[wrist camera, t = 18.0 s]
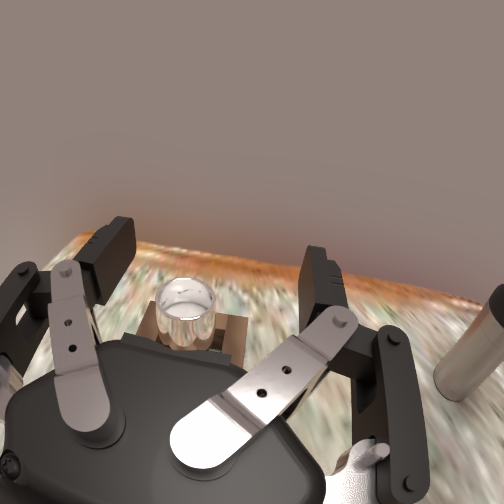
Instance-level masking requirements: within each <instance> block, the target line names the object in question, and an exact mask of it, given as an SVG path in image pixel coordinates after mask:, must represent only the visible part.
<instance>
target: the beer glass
mask: <svg viewBox="0 0 504 504" xmlns="http://www.w3.org/2000/svg"><path fill="white" fill-rule="evenodd" d="M215 300H216V297H215V293H214V291H213V289H212V288H211V287H210V286H209V285H208V284H207V283H205V282H203V281H201V280H199V279H195V278H190V277H181V278H175V279H172V280H169V281H167V282H166V283H164V284H163V285H162V286H161V287H160V288H159V289H158V291H157V293H156V296H155V301H156V321H157V328H158V333H159V337H160V339H161V342H162V344H163V346H165V347H167V348H170V349H172V350H206V351H210V348H211V345H212V342H213V339H214V335H215V328H216V306H215Z"/></svg>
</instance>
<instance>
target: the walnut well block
mask: <svg viewBox="0 0 504 504" xmlns="http://www.w3.org/2000/svg"><path fill="white" fill-rule="evenodd" d="M247 326H248V317H241V316H235V315H228V314H222V313H216V328H215V335H214V339H213V342H212V345H211V348H213V349H220V350H222V352H221V353H223V354H229V355H232V356H231V363H232V364H235V365H237V366H239V367H241V368H242V369H243V360H244V352H245V343H246V335H247ZM136 335H137V336H141V337H145V338H149V339H151V340H153V341H155V342H157V343H159V344H161V345H163V344H162V342H161V339H160V337H159V333H158V328H157V321H156V302H155V301H150V303H149V305H148V308H147V310H146V312H145V315H144V317H143V319H142V321H141V324H140V326H139V328H138V331H137V333H136Z"/></svg>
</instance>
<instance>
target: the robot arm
mask: <svg viewBox="0 0 504 504" xmlns="http://www.w3.org/2000/svg"><path fill="white" fill-rule="evenodd" d="M135 254H136V238H135V229H134V221H133V219H132V218H128V217H121V216H117V217H116V218H114V220H113V221H112V222H111V223H110V224H109V225H105V226H104V227H102V228H100V229H99V230H97V231H96V232H95V234H94V235H93V236H92V238H90V239H89V240H88V242H87V243H86V244H85V245H84V246H83V247H82V249H81V250H80V251H79V252H78V253H77V255H76V256H75V257H74V258H73V259H72V260H64V261H61V262H59V263H57V264H56V265H55V266H54V267H53V268H52V270H51V271H38V269H37V266H36V264H35V263H34V262H30V261H28V262H23V263H21V264H19V265H17V266H16V267H15V268H14V269H13V270H12V272H11V273H10V274H9V276H8V277H7V278H6V279H5V281H4V282H3V283H2V285H1V286H0V423H2V424H4V425H5V440H4V448H3V452H2V455H1V457H0V504H413V503H416V502H418V501H420V500H421V499H422V498H423V497H424V496H425V495H426V493H427V491H428V489H429V486H430V471H429V458H428V447H427V438H426V429H425V422H424V415H423V408H422V402H421V396H420V390H419V385H418V379H417V374H416V369H415V365H414V360H413V355H412V351H411V347H410V342H409V339H408V337H407V335H406V334H405V333H404V332H403V331H402V330H401V329H400V328H398V327H395V326H392V325H385V326H383V327H381V328H380V329H379V331H378V332H377V331H375V330H372V329H369V328H367V327H364V326H362V325H360V324H359V323H358V319H357V317H356V315H355V314H354V313H353V312H352V311H351V310H349V308H348V303H347V298H346V293H345V288H344V286H343V285H344V283H343V279H342V274H341V269H340V268H339V266H338V265H337V264H336V262H335V261H332V260H327V256H326V251H325V248H322V247H316V246H310V245H308V247H307V250H306V253H305V256H304V260H303V264H302V267H301V271H300V274H299V280H298V298H299V335H298V336H297V337H296V336H295V335H291V336H290V337H288V338H287V339H286V340H285V341H284V342H283V343H282V344H280V345H279V346H278V347H277V348H276V349H275V350H274V351H272V352H271V353H270V354H269V355H268V356H267V357H266V358H264V359H263V360H262V361H261V362H260V363H259V364H257V365H256V366H255V367H254V368H253V369H251V370H250V371H249V372H247V371H245V370H244V369H242V368H241V367H239V366H237V365H235V364H232V363H231V356H232V355H229V354H223V353H218V352H212V351H206V350H172V349H170V348H167V347H165V346H163V345H161V344H159V343H157V342H155V341H153V340H151V339H149V338H145V337H141V336H137V335H133V334H129V333H125V332H124V334H123V336H122V338H121V340H111V341H106V342H103V343H102V339H101V336H100V332H99V328H98V324H97V320H96V316H95V312H94V309H93V307H94V306H95V304H99V305H103V306H105V305H106V303H107V301H108V300H109V298H110V296H111V295H112V293H113V291H114V290H115V288H116V286H117V285H118V283H119V281H120V280H121V278H122V276H123V275H124V273H125V272H126V270H127V268H128V267H129V265H130V264H131V262H132V261H133V259H134V257H135ZM23 304H24V306H25V308H26V312H25V313H24V315H23V316H22V318H21V320H20V321H19V323H18V325H17V326H16V316H17V314H18V312H19V310H20V309H21V307H22V306H23ZM48 327H50V337H51V346H52V353H53V360H54V367H55V369H54V370H52V371H50V372H49V373H47V374H45V375H43V376H42V377H40V378H38V379H36V380H35V381H33V382H31V383H29V384H28V385H26V386H24V387H23V377H24V374H25V372H26V370H27V368H28V366H29V364H30V362H31V360H32V358H33V356H34V354H35V352H36V350H37V348H38V346H39V344H40V342H41V340H42V338H43V337H44V335H45V333H46V331H47V329H48ZM503 361H504V284H501V285H499V286H498V287H497V288H496V289H495V290H494V292H493V293H492V295H491V296H490V298H489V299H488V301H487V303H486V304H485V305H484V307H483V308H482V310H481V311H480V313H479V314H478V315H477V317H476V318H475V320H474V321H473V322H472V324H471V325H470V326H469V328H468V329H467V330H466V332H465V333H464V334H463V335H462V337H461V338H460V339H459V340H458V342H457V343H456V344H455V345H454V347H453V348H452V349H451V350H450V351H449V352H448V354H447V355H446V356H445V357H444V358H443V359H442V361H441V362H440V363H439V364H438V365H437V366H436V368H435V371H434V380H435V384H436V386H437V388H438V390H439V391H440V392H441V394H442V395H444V396H445V397H446V398H448V399H450V400H452V401H461V400H463V399H465V398H466V397H467V396H468V395H469V394H470V393H471V392H473V391H474V390H475V389H476V388H477V387H478V386H479V385H480V384H481V383H482V382H483V381H484V380H485V379H486V378H487V377H488V376H489V375H490V374H491V373H492V372H493V371H494V370H495V369H496V368H497V367H498V366H499V365H500V364H501V363H502V362H503ZM331 371H333V372H336V373H338V374H341V375H344V376H346V377H349V378H351V404H352V447H351V448H349V449H348V450H347V451H345V452H344V453H343V454H341V456H340V457H339V459H338V461H337V464H336V468H335V471H334V473H333V474H332V475H331V476H330V477H325V475H324V473H323V471H322V469H321V467H320V466H319V464H318V463H317V462H316V460H315V459H314V458H313V457H312V455H311V454H310V453H309V451H308V450H307V449H306V448H305V446H304V445H303V444H302V442H301V441H300V440H299V438H298V437H297V436H296V434H295V433H294V432H293V430H292V429H291V428H290V426H289V425H288V424H287V421H288V420H289V419H290V418H291V417H292V416H293V415H294V414H295V413H296V412H297V411H298V409H299V408H300V407H301V406H302V404H303V403H304V402H305V401H306V400H307V398H308V397H309V396H310V395H311V394H312V393H313V392H314V390H315V389H316V388H317V387H318V386H319V385H320V384H321V382H322V381H323V380H324V379H325V378H326V377H327V375H328V374H329V373H330V372H331Z"/></svg>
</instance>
